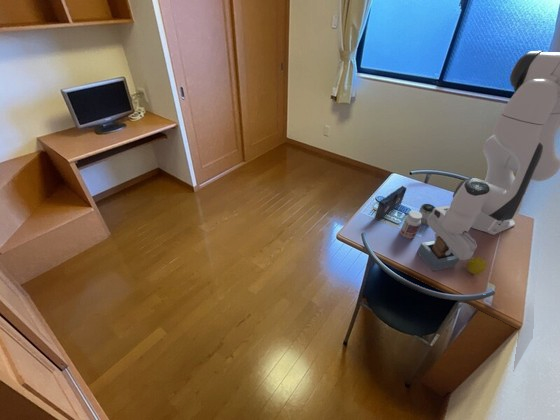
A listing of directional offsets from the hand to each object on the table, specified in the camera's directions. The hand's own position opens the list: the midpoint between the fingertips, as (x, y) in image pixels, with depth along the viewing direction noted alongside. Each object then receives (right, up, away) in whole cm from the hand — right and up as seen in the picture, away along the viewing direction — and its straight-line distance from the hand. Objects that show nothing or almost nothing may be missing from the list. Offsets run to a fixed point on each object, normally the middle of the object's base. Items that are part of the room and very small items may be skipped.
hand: (441, 248), depth 108 cm
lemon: (+11, -9, -1) cm, 14 cm away
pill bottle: (-6, +4, +15) cm, 17 cm away
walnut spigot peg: (0, -4, +3) cm, 5 cm away
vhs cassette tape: (-11, +14, +26) cm, 31 cm away
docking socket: (0, -5, +4) cm, 6 cm away
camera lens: (+4, +10, +21) cm, 24 cm away
